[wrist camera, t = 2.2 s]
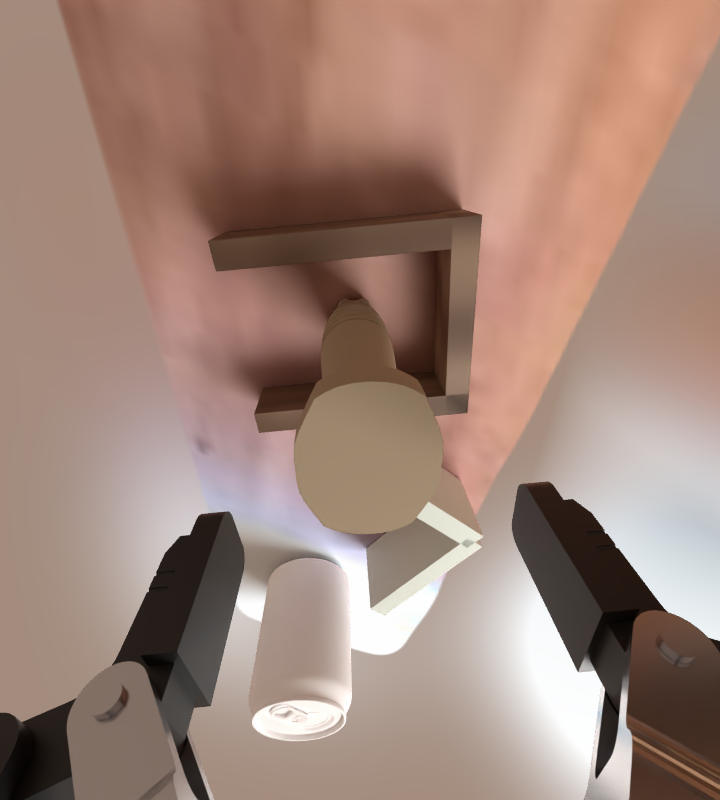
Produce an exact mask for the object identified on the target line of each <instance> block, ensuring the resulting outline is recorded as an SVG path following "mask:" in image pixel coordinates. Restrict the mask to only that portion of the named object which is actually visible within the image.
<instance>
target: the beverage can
mask: <svg viewBox="0 0 720 800" xmlns="http://www.w3.org/2000/svg"><path fill="white" fill-rule="evenodd" d="M351 700H352V683H351V643H350V604H349V580H348V577H347V575H346V573H345V572H344V571H343V570H342V569H341V568H340V567H339V566H337V565H336V564H334V563H332V562H329V561H326V560H323V559H317V558H301V559H296V560H292V561H289V562H286V563H284V564H282V565H281V566H279V567H278V568H277V569H275V570H274V572H273V573H272V574H271V576H270V578H269V582H268V588H267V594H266V600H265V606H264V611H263V617H262V623H261V629H260V635H259V641H258V646H257V653H256V659H255V664H254V671H253V676H252V681H251V688H250V693H249V706H250V709H251V712H252V714H253V716H252V725H253V727H254V728H255V730H256V731H258V732H259V733H261V734H263V735H265V736H267V737H270V738H274V739H279V740H286V741H306V740H313V739H319V738H323V737H326V736H329V735H331V734H333V733H335V732H337V731H338V730H339V729H341V728H342V727H343V726H344V724H345V722H346V712H347V711H348V709H349V707H350V704H351Z"/></svg>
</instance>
